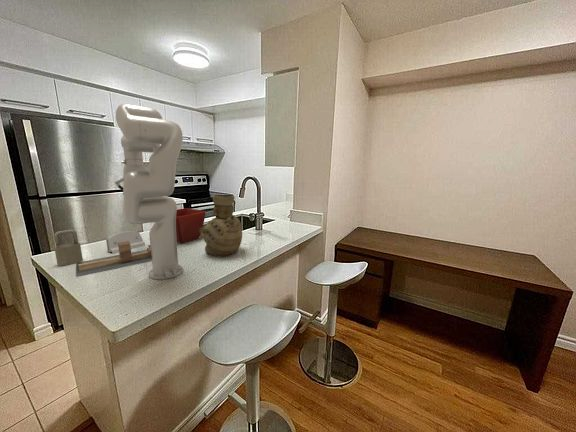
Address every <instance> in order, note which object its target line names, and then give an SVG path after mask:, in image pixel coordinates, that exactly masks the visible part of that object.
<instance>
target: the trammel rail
mask: <svg viewBox="0 0 576 432" xmlns="http://www.w3.org/2000/svg"><path fill="white" fill-rule="evenodd" d="M146 248H147V249H146V250H147V252H142V253H137V254H131V255H132V260H135V259H139V258H144V257H151V247H150V244H148V247H146ZM120 262H121V257H115V258H110V259H105V260H99V261H94V262H89V263H83V264H79V271H80V270H85V269H90V268H95V267H100V266H105V265H110V264H115V263H120Z"/></svg>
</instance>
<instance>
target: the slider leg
mask: <svg viewBox="0 0 576 432" xmlns="http://www.w3.org/2000/svg"><path fill="white" fill-rule="evenodd" d="M118 247H119V254H118V255H120V257H121V262H126V261H131V260H132V255H131V253H132V249H131V247H130V242H129V241H125V242H119V243H118Z"/></svg>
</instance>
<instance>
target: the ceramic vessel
mask: <svg viewBox="0 0 576 432" xmlns="http://www.w3.org/2000/svg"><path fill="white" fill-rule="evenodd" d="M234 200H235V195H233V194H213V195H212V202H213V205H214V207H213V211H212V216H214V218H212V219H211V220H209V221H208V222H207V223H206V225H205V226H203V227H202V228H200V229H199V232H200V237H199V238H200V239H204V242H205V246H204V247H205V248H204V251H205V253H206V254H208V255H210V256H214V257H218V258H224V257H225V258H226V257H230V256H234V255H235V254H236V253H238V251H239V249H240V247H241V244H242V240H243V227H242V223H241V220H240V219H239V218H238V217H236V216H235V215H234V214H233V213H234V209H235V207H234V205H233V204H234Z"/></svg>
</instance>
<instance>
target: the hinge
mask: <svg viewBox="0 0 576 432" xmlns="http://www.w3.org/2000/svg"><path fill="white" fill-rule="evenodd" d="M105 240H106V241H105V242H106V247H107V248H106V249H107V253H110V252H111V254H112V255H114V254H118V253H119V247H118V243H119V242H125V241H129V242H130V247H131V250H133V249H137V248H141V247H144V246H146V243H145V241H144V239H143V237H142V235H141V233H140V232H139V231H136V230H130V231H129V230H128V231H121V232H118V233H115V234H113V235H110V236H109V237H107V238H106V239H105Z"/></svg>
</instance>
